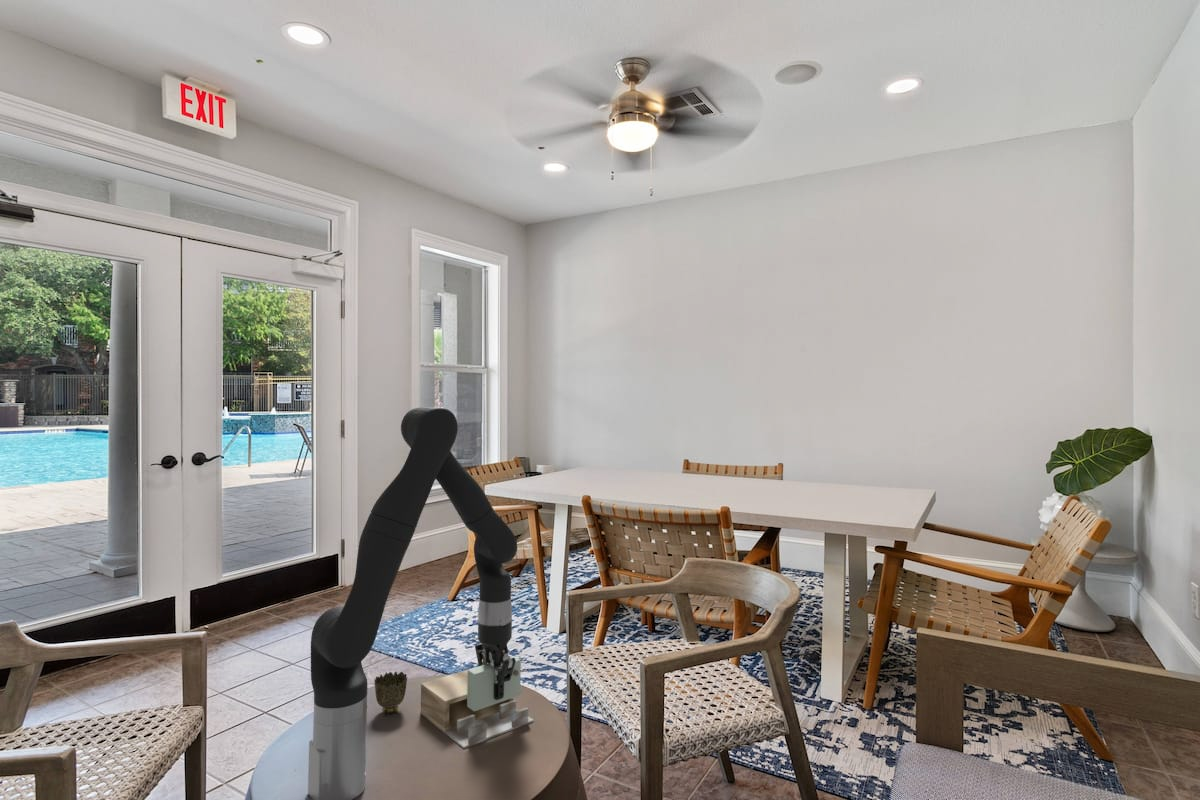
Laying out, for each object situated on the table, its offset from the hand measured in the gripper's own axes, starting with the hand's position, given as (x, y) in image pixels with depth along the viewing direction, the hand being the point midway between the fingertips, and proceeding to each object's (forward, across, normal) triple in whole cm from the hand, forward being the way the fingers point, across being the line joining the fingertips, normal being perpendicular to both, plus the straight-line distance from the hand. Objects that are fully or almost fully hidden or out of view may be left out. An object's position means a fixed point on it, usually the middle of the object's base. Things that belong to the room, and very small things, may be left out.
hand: (494, 695), depth 139 cm
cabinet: (+7, -7, 0) cm, 10 cm away
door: (+1, 0, 0) cm, 1 cm away
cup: (+8, -23, -14) cm, 28 cm away
